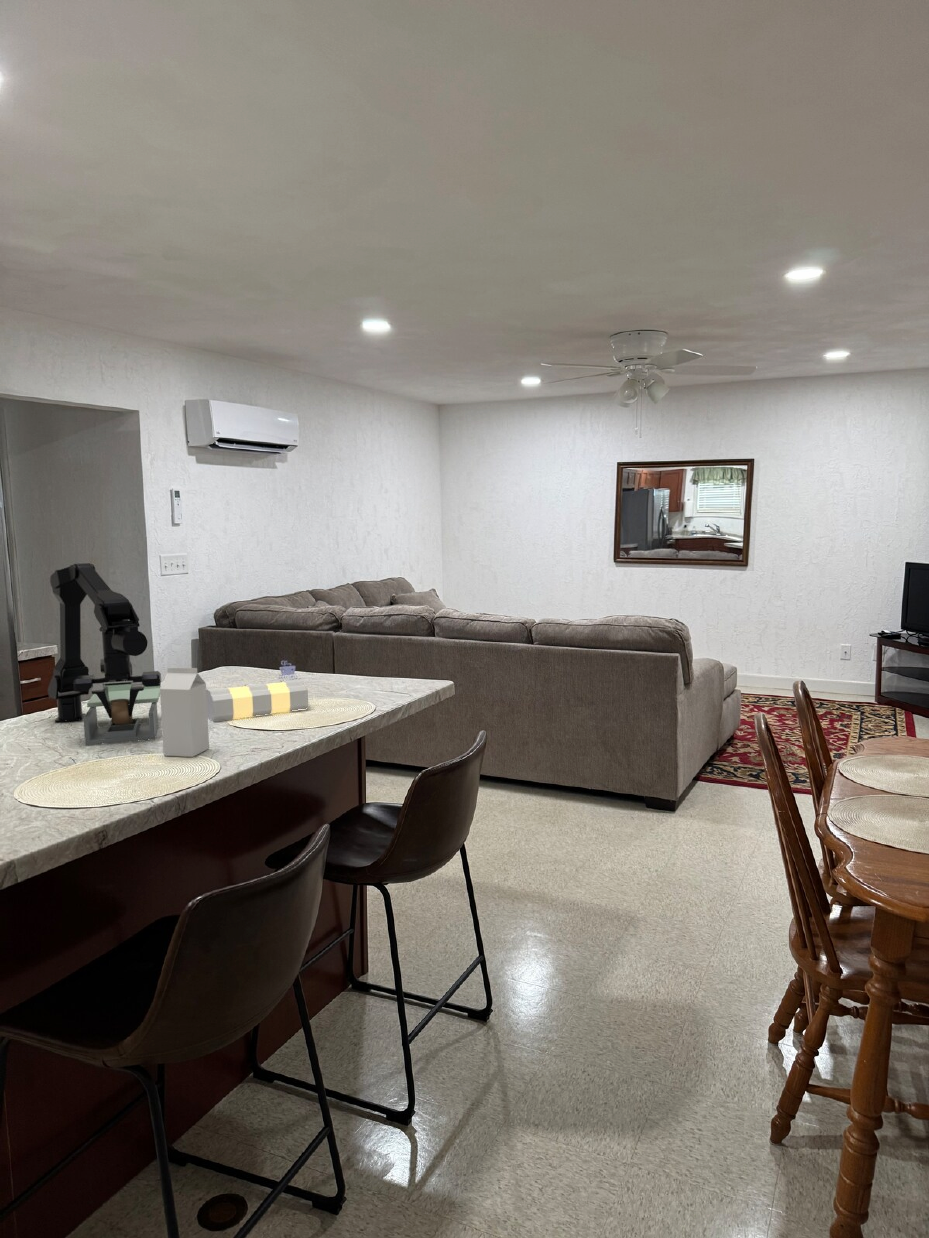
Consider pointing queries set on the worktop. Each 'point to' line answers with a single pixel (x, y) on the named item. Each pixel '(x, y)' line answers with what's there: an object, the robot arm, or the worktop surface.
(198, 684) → the milk carton
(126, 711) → the brown sleeve
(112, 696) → the lid
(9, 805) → the worktop surface
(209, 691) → the yellow banded gray prism
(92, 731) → the housing
